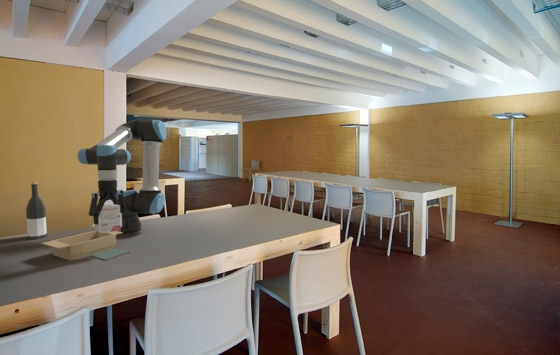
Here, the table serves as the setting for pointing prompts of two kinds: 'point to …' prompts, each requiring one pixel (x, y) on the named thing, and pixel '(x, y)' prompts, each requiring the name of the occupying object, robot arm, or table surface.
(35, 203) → the wine bottle
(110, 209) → the ink box
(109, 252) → the mat
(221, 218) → the table surface
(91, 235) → the tan shallow open box
